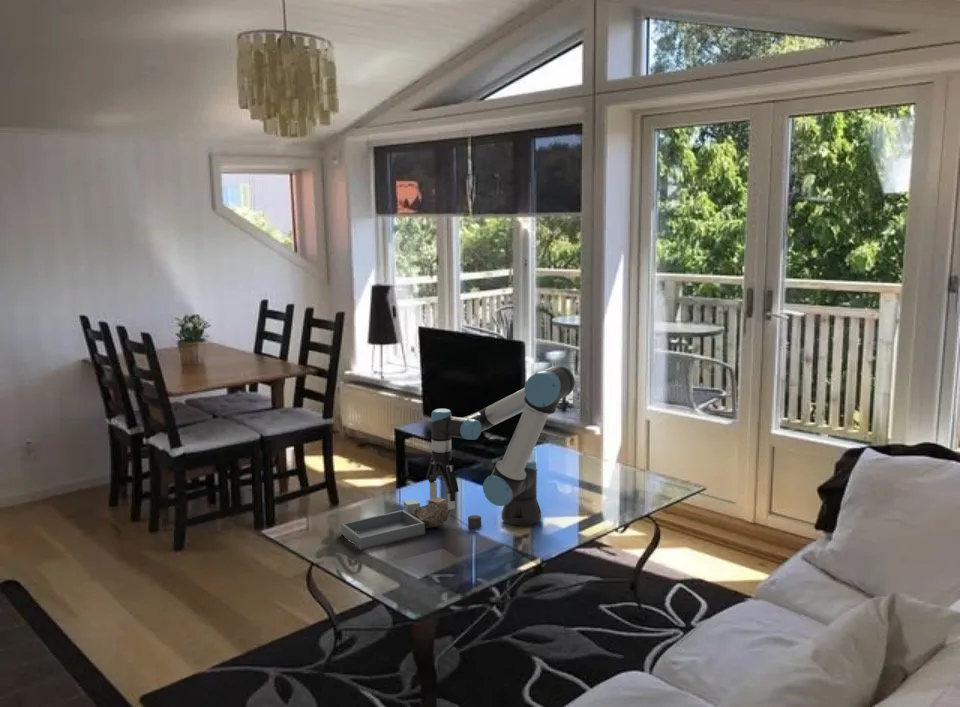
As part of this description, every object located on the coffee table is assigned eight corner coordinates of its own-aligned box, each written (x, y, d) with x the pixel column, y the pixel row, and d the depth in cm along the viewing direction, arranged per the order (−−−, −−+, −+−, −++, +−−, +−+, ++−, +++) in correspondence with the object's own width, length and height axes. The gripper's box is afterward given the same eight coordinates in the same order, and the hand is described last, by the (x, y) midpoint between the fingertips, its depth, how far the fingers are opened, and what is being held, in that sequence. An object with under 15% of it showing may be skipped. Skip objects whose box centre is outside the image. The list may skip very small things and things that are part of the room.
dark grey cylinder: (483, 528, 303) (483, 518, 302) (472, 531, 300) (472, 520, 300) (476, 524, 307) (476, 514, 306) (465, 527, 304) (465, 516, 304)
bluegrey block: (420, 517, 315) (419, 503, 314) (407, 519, 313) (407, 504, 312) (416, 513, 319) (415, 499, 318) (404, 515, 317) (403, 500, 316)
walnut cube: (446, 511, 321) (446, 499, 320) (437, 514, 318) (437, 502, 317) (437, 508, 325) (437, 496, 324) (428, 512, 321) (428, 500, 320)
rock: (457, 502, 307) (440, 492, 301) (457, 526, 301) (440, 517, 294) (421, 516, 315) (404, 507, 309) (421, 540, 309) (404, 531, 302)
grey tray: (425, 534, 297) (424, 523, 296) (360, 550, 283) (360, 538, 282) (403, 520, 311) (403, 509, 310) (341, 535, 297) (340, 523, 297)
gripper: (467, 456, 295) (467, 511, 298) (433, 440, 315) (434, 492, 319) (450, 459, 291) (450, 515, 294) (417, 443, 311) (417, 496, 315)
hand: (442, 503), depth 306 cm, fingers open, 13 cm apart
